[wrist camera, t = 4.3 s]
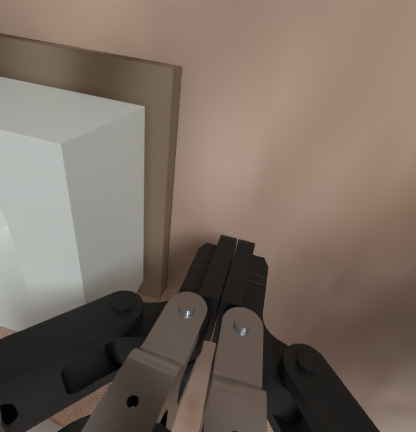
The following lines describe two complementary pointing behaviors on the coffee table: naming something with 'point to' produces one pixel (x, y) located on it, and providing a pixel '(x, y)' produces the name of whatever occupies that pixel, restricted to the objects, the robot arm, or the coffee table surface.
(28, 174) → the socket
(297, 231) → the coffee table surface
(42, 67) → the jig
